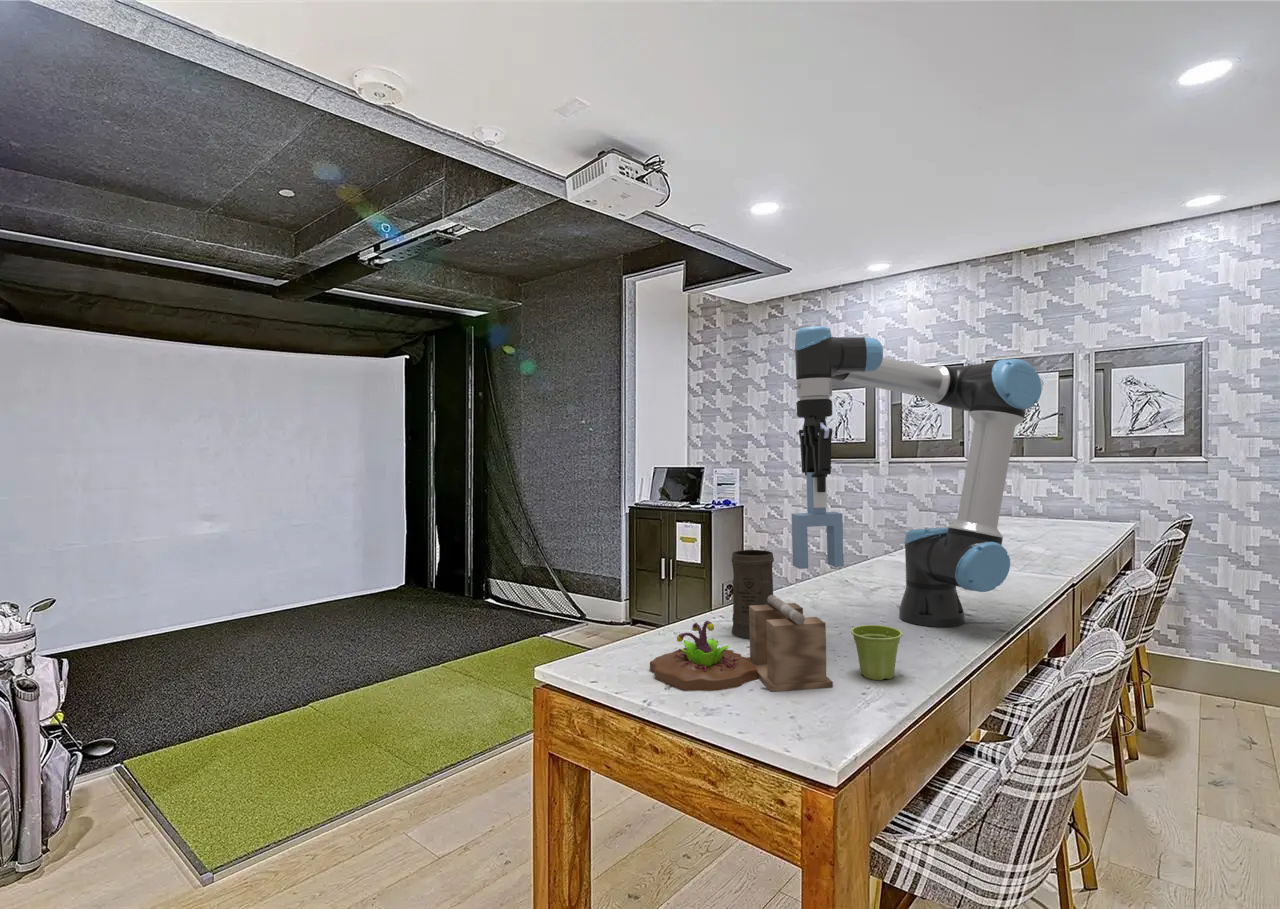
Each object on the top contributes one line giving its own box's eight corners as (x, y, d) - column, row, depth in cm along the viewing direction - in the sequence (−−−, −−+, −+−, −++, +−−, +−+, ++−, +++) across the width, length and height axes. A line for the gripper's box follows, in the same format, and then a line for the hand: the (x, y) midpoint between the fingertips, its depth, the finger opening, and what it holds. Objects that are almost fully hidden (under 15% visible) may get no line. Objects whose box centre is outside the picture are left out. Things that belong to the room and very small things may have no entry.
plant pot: (897, 687, 127) (896, 640, 126) (846, 679, 132) (845, 634, 131) (907, 672, 135) (906, 628, 134) (858, 664, 140) (858, 622, 139)
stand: (799, 658, 144) (798, 592, 144) (832, 687, 127) (831, 612, 127) (744, 662, 143) (743, 595, 142) (770, 691, 126) (769, 616, 126)
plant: (685, 700, 124) (683, 638, 124) (638, 669, 142) (636, 615, 141) (774, 680, 133) (773, 623, 132) (720, 653, 150) (718, 603, 150)
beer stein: (777, 641, 157) (775, 553, 158) (730, 639, 159) (728, 553, 160) (777, 627, 172) (775, 547, 173) (734, 626, 174) (733, 547, 175)
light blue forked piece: (836, 563, 152) (833, 471, 151) (843, 566, 148) (841, 472, 147) (792, 565, 151) (790, 472, 150) (799, 568, 147) (797, 473, 146)
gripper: (785, 401, 156) (787, 504, 156) (811, 396, 140) (814, 511, 140) (816, 400, 157) (818, 502, 157) (846, 396, 141) (849, 509, 141)
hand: (816, 506), depth 149 cm, fingers closed on light blue forked piece, 3 cm apart
